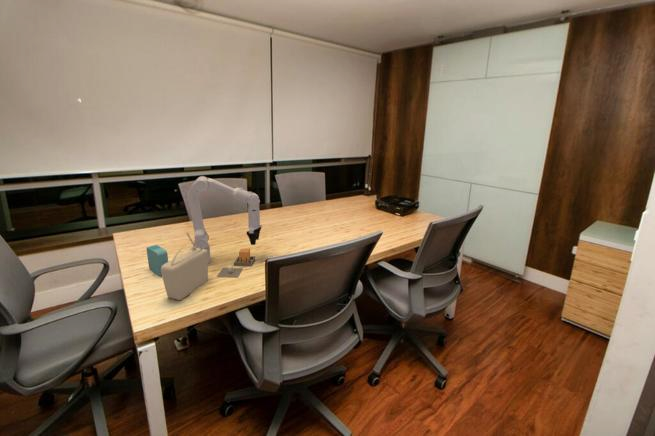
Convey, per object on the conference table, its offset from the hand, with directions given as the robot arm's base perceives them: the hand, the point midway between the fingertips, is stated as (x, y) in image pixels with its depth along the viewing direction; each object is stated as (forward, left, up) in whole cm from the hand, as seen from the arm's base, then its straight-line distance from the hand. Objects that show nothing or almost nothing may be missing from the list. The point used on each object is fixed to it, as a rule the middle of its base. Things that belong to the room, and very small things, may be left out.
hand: (254, 242), depth 169 cm
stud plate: (-8, -18, -10) cm, 22 cm away
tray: (-4, -6, -10) cm, 12 cm away
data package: (-42, -18, -10) cm, 47 cm away
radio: (-22, -34, -10) cm, 41 cm away
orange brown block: (-4, -6, -9) cm, 12 cm away
